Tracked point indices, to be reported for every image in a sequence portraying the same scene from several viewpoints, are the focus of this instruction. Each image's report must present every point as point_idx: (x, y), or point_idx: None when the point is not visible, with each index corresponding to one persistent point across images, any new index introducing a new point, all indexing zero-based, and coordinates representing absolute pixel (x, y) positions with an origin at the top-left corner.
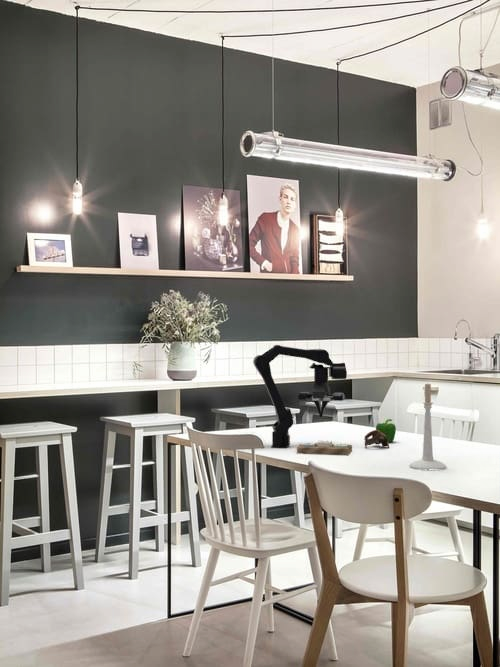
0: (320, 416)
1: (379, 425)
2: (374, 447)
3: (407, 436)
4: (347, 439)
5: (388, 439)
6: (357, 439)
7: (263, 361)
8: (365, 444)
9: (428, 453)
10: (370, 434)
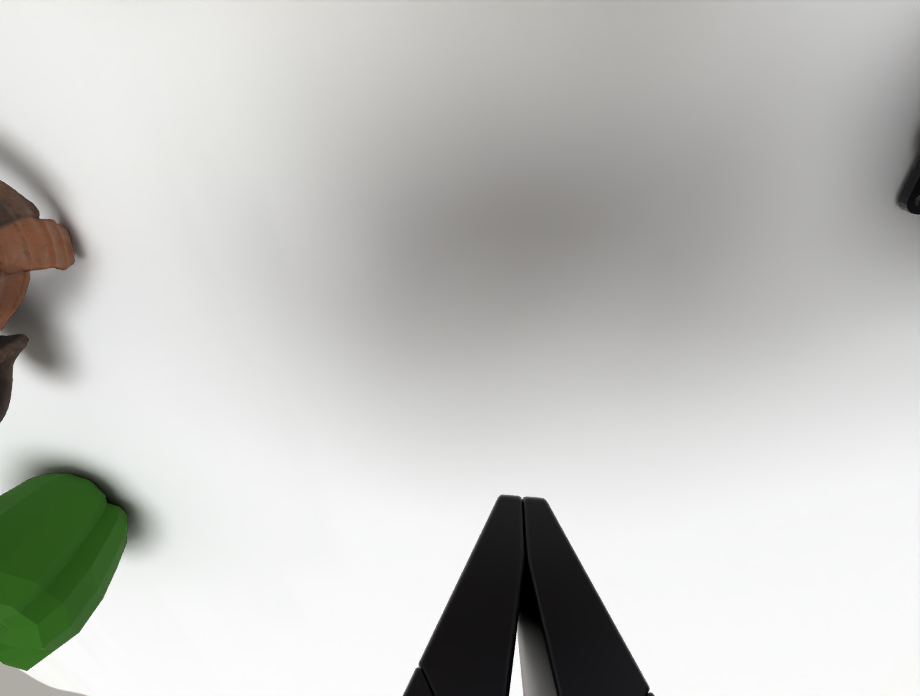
0: (534, 502)
1: None
2: None
3: (94, 660)
4: (364, 578)
5: (16, 487)
6: (302, 581)
7: None
8: (16, 201)
9: None
10: None
